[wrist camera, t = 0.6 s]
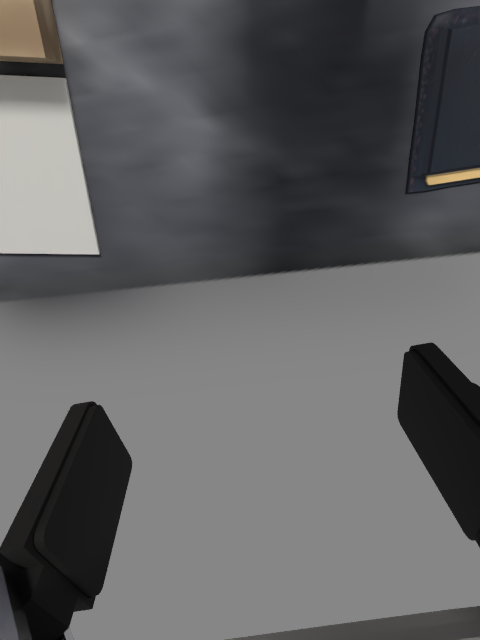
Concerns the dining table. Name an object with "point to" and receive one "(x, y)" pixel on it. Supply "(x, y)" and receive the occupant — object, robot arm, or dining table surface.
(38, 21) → the board
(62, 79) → the mat
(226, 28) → the dining table surface
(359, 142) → the dining table surface
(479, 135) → the dark blue flat slab
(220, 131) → the dining table surface
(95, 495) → the robot arm
